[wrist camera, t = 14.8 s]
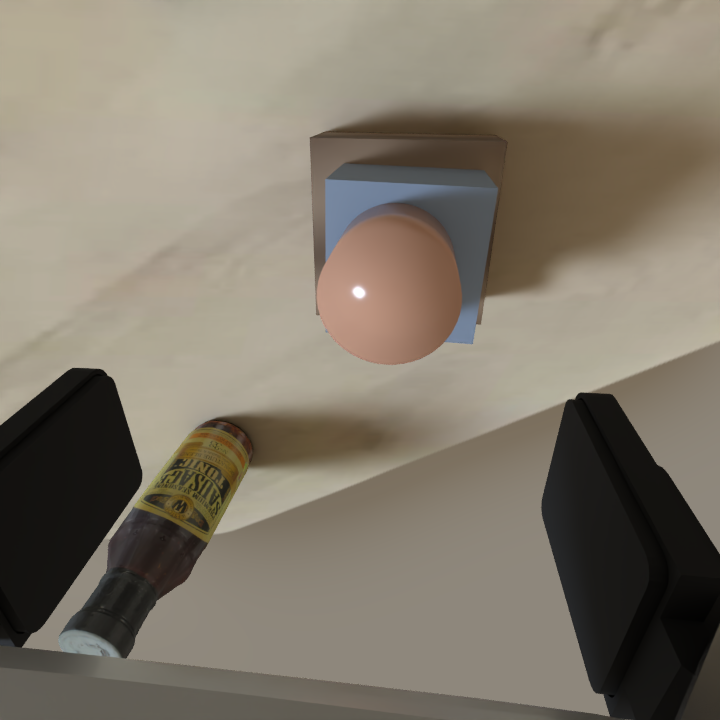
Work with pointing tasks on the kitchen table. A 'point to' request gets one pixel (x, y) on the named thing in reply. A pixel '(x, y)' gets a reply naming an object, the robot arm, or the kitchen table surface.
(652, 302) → the kitchen table surface
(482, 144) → the tower base
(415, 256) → the terracotta cylinder
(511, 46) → the kitchen table surface
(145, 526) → the sauce bottle
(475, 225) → the tower middle
